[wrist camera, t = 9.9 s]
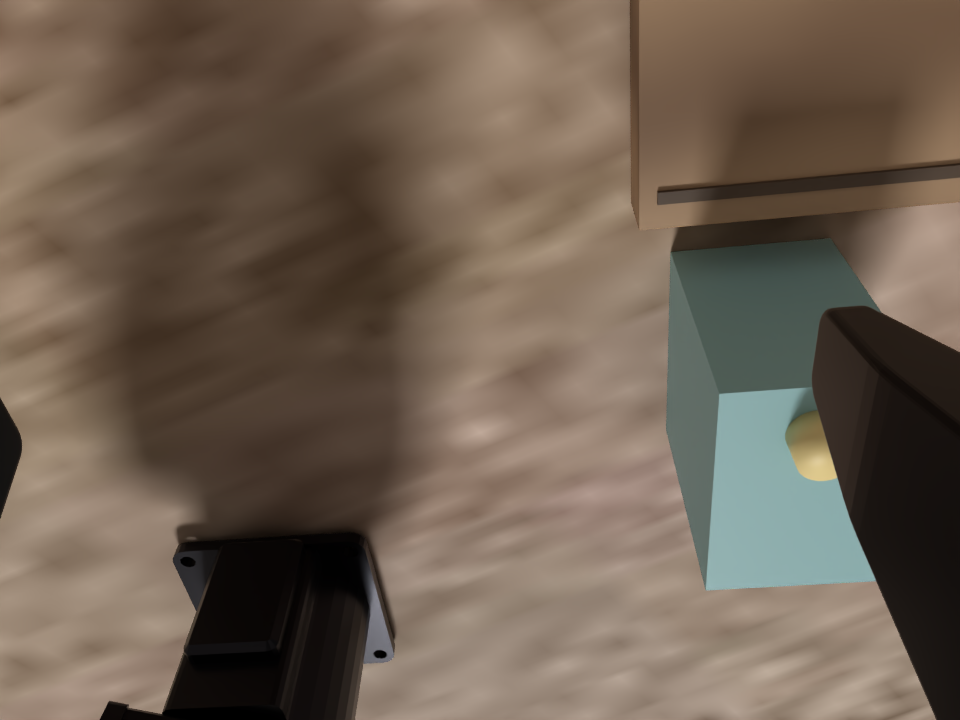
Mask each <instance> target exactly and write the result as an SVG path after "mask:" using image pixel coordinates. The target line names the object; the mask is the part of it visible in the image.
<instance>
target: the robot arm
mask: <svg viewBox="0 0 960 720" xmlns="http://www.w3.org/2000/svg"><path fill="white" fill-rule="evenodd" d="M812 390H813V395H814V399H815V403H816V406H817V410H818V413H819V417H820V420H821V423H822V427H823V430H824V434H825V437H826V441H827V444H828V448H829V451H830V454H831V458H832V461H833V465H834V468H835V472H836V475H837V479H838V482H839V486H840V489H841V492H842V496H843V499H844V502H845V505H846V509H847V512H848V515H849V518H850V521H851V523H852V526H853V528H854V531H855V533H856V536H857V538H858V540H859V543H860V545H861V547H862V550H863V552H864V554H865V557H866V559H867V561H868V563H869V566H870V568H871V570H872V573H873V575H874V577H875V580H876V582H877V584H878V586H879V589H880V591H881V593H882V596H883V598H884V600H885V603H886V605H887V607H888V609H889V612H890V614H891V616H892V619H893V621H894V623H895V626H896V628H897V630H898V632H899V635H900V637H901V639H902V642H903V644H904V646H905V649H906V651H907V653H908V655H909V658H910V660H911V662H912V665H913V667H914V669H915V672H916V674H917V676H918V678H919V681H920V683H921V685H922V688H923V690H924V692H925V695H926V697H927V699H928V701H929V704H930V706H931V708H932V711H933V713H934V715H935V718H936V720H960V352H958V351H956V350H954V349H952V348H950V347H948V346H946V345H944V344H942V343H940V342H938V341H936V340H934V339H932V338H930V337H928V336H926V335H924V334H922V333H920V332H918V331H916V330H914V329H912V328H910V327H908V326H906V325H904V324H902V323H900V322H898V321H897V320H895V319H893V318H891V317H889V316H887V315H885V314H883V313H881V312H879V311H877V310H875V309H873V308H871V307H868V306H862V305H860V306H848V307H836V308H829V309H827V310H826V311H825V312H824V313H823V314H822V316H821V319H820V322H819V328H818V335H817V342H816V349H815V356H814V362H813V369H812ZM21 453H22V440H21V436H20V433H19V431H18V429H17V427H16V425H15V423H14V421H13V420H12V418H11V416H10V414H9V413H8V411H7V409H6V407H5V405H4V404H3V402H2V400H1V398H0V518H1V515H2V512H3V509H4V506H5V503H6V500H7V497H8V494H9V491H10V487H11V484H12V481H13V478H14V475H15V472H16V469H17V466H18V463H19V460H20V457H21ZM349 547H353V548H349ZM173 563H174V565H175V567H176V569H177V571H178V573H179V576H180V578H181V580H182V582H183V584H184V586H185V588H186V590H187V592H188V594H189V597H190V599H191V601H192V603H193V605H194V607H195V609H196V611H197V612H196V615H195V617H194V620H193V623H192V626H191V629H190V631H189V634H188V637H187V640H186V643H185V645H184V653H183V655H182V658H181V661H180V664H179V667H178V670H177V672H176V675H175V678H174V681H173V684H172V686H171V689H170V692H169V695H168V698H167V701H166V703H165V706H164V709H163V712H162V714H158V713H153V712H148V711H142V710H137V709H132V708H128V707H129V704H124V703H118V702H113V701H109V702H108V704H107V706H106V708H105V710H104V712H103V714H102V716H101V718H100V720H355V715H356V708H357V702H358V695H359V689H360V682H361V675H362V669H363V664H366V663H384V662H388V661H390V660H392V658H393V657H394V649H395V643H394V639H393V636H392V632H391V628H390V625H389V621H388V617H387V614H386V610H385V606H384V603H383V599H382V595H381V591H380V588H379V584H378V580H377V577H376V573H375V569H374V566H373V562H372V558H371V555H370V551H369V547H368V544H367V541H366V539H365V538H364V537H363V536H361V535H360V534H357V533H350V532H349V533H332V534H316V535H300V536H284V537H268V538H252V539H236V540H220V541H204V542H188V543H183V544H181V545H179V546H178V548H177V550H176V552H175V555H174V557H173Z"/></svg>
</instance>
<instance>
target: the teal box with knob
mask: <svg viewBox="0 0 960 720" xmlns="http://www.w3.org/2000/svg"><path fill="white" fill-rule="evenodd" d="M860 305H862V306H868V307H871V308H873V309H875V310H877V311H879V312H881V311H880V310H879V308H878V307H877V305H876V304H875V302H874V301H873V299H872V298H871V297H870V295H869V294H868V292H867V291H866V289H865V288H864V286H863V285H862V283H861V282H860V281H859V279H858V278H857V276H856V275H855V273H854V272H853V270H852V269H851V267H850V266H849V265H848V263H847V262H846V260H845V259H844V257H843V256H842V254H841V253H840V251H839V250H838V249H837V247H836V246H835V244H834V243H833V241H832V240H831V238H827V239H815V240H803V241H792V242H780V243H769V244H757V245H746V246H734V247H722V248H711V249H699V250H688V251H676V252H671V255H670V296H669V337H668V378H667V419H666V431H667V435H668V439H669V443H670V447H671V451H672V455H673V459H674V463H675V467H676V472H677V476H678V480H679V484H680V488H681V492H682V496H683V500H684V504H685V508H686V512H687V516H688V520H689V524H690V528H691V532H692V537H693V541H694V545H695V549H696V553H697V557H698V561H699V565H700V569H701V573H702V577H703V581H704V585H705V589H706V590H721V589H740V588H758V587H777V586H795V585H813V584H832V583H850V582H869V581H876V580H875V577H874V575H873V573H872V570H871V568H870V566H869V563H868V561H867V559H866V557H865V554H864V552H863V550H862V547H861V545H860V543H859V540H858V538H857V536H856V533H855V531H854V528H853V526H852V523H851V521H850V518H849V515H848V512H847V509H846V505H845V502H844V499H843V496H842V492H841V489H840V486H839V482H838V479H837V475H836V472H835V468H834V465H833V461H832V458H831V454H830V451H829V448H828V444H827V441H826V437H825V434H824V430H823V427H822V423H821V420H820V417H819V413H818V410H817V406H816V403H815V399H814V395H813V390H812V369H813V362H814V356H815V349H816V342H817V335H818V328H819V322H820V319H821V316H822V314H823V313H824V312H825V311H826V310H827V309H829V308H836V307H848V306H860Z"/></svg>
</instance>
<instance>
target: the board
mask: <svg viewBox="0 0 960 720" xmlns="http://www.w3.org/2000/svg"><path fill="white" fill-rule="evenodd" d="M630 85H631V204H632V207H633V211H634V214H635V217H636V221H637V224H638V228H639V231H640V230H651V229H662V228H673V227H685V226H696V225H707V224H718V223H730V222H741V221H752V220H763V219H775V218H786V217H797V216H808V215H820V214H831V213H842V212H854V211H865V210H876V209H887V208H899V207H910V206H921V205H932V204H944V203H955V202H960V0H630Z"/></svg>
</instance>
